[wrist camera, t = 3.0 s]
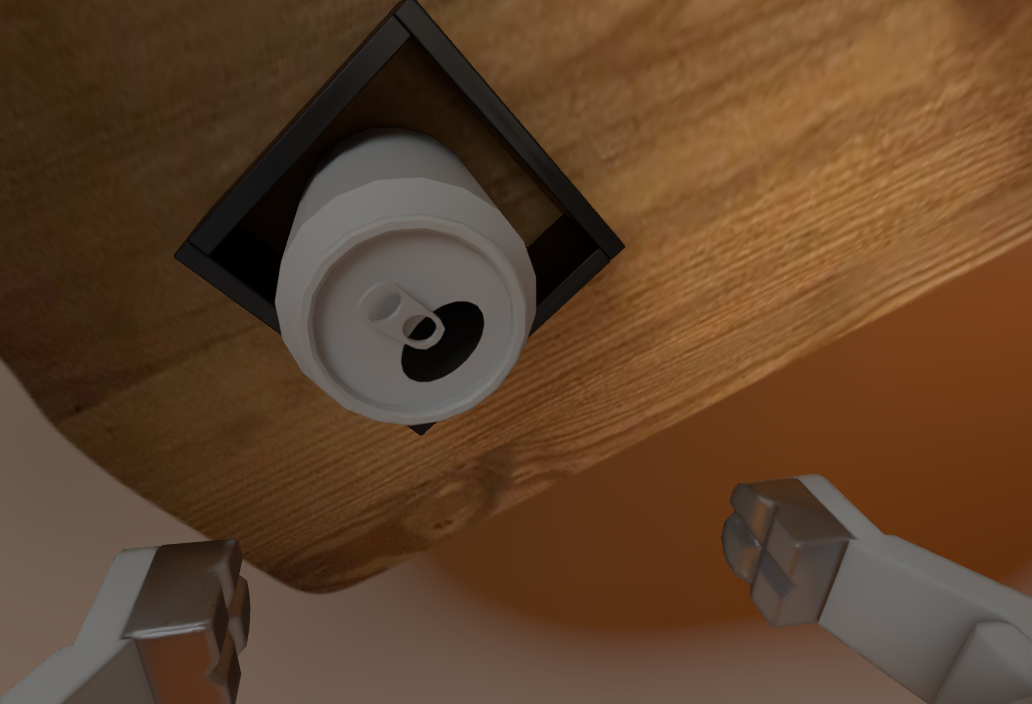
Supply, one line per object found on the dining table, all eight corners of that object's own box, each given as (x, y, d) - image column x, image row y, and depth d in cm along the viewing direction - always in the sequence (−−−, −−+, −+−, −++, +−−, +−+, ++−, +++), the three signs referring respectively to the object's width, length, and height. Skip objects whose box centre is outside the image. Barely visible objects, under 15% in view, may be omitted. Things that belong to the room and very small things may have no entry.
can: (405, 325, 30) (433, 488, 19) (264, 224, 26) (205, 356, 16) (513, 205, 28) (605, 312, 18) (379, 81, 25) (396, 123, 14)
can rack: (202, 217, 25) (171, 257, 21) (400, -1, 23) (411, -7, 19) (412, 379, 31) (421, 437, 27) (586, 213, 29) (626, 247, 25)
